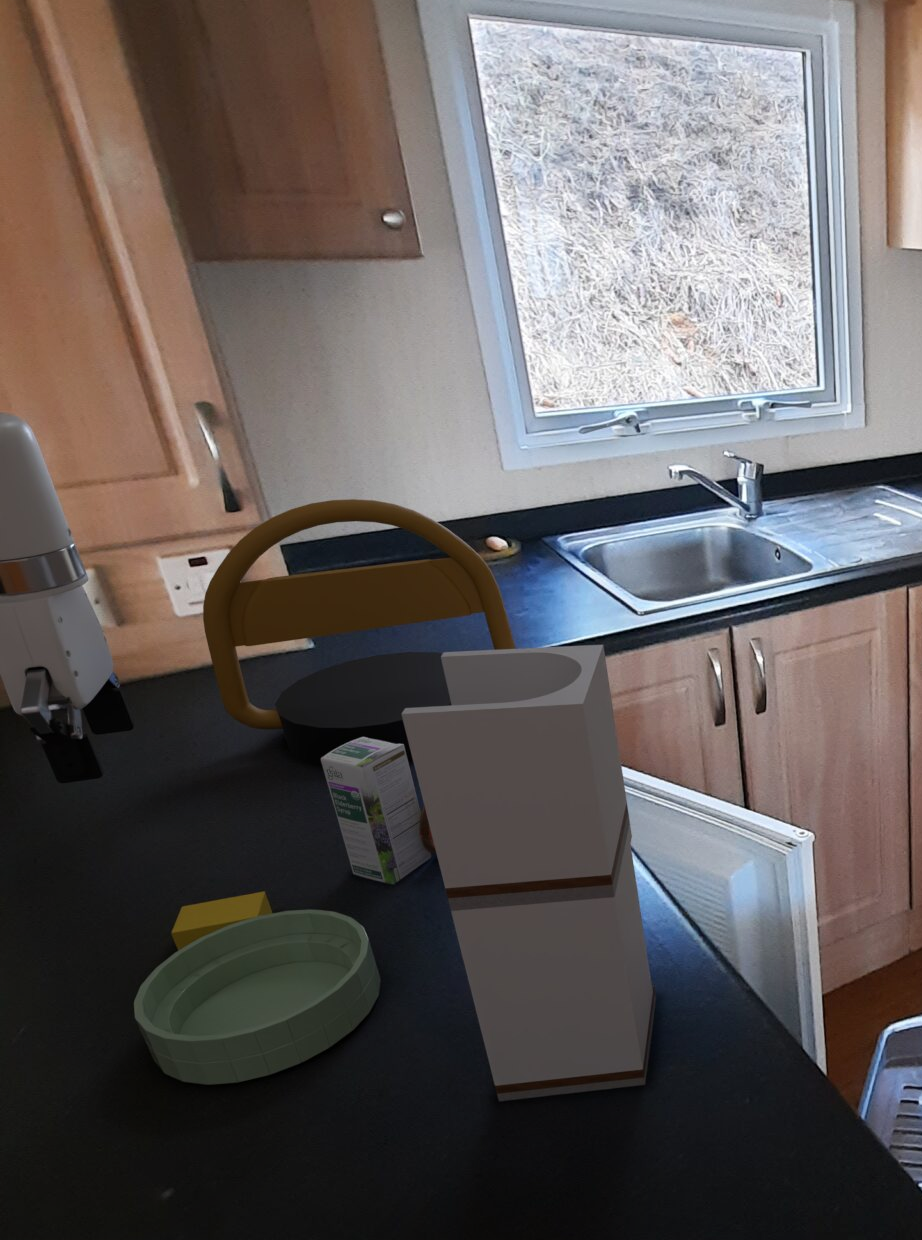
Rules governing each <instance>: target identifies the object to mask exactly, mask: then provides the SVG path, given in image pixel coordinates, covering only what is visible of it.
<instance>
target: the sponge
mask: <svg viewBox="0 0 922 1240" xmlns="http://www.w3.org/2000/svg"><path fill="white" fill-rule="evenodd" d="M267 896H268V895H267V894H266V891H259V892H254V893H249V894H243V895H242V894H241V895H237V896H232V897H225V898H222V899H215V900H210V901H205V902H199V903H195V904H188V905H184V906H181V908H180V910H179V913H178V915H177V918H176V920H175V922H174V925H173V927H172V929H171V933H170V934H171V937H172V939H173V942H174V944H175V946H176V948H177V951H179V950H180V949H182V948H184V947H186V946H187V945H189V944H191V943H192V942H194V941H196V940H198V939H199V938H201V937H203V936H205V935H208V934H210V933H212V932H215V931H217V930H219V929H222V928H224V927H226V926H228V925H231V924H234V923H238V922H241V921H244V920H247V919H251V918H254V917H257V916H262V915H267V914H272V913H273V911H272V908H271V905H270V902H269V899H268V897H267Z"/></svg>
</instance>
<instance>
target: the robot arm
mask: <svg viewBox="0 0 922 1240" xmlns="http://www.w3.org/2000/svg"><path fill="white" fill-rule="evenodd" d="M68 523H69V522H68V520H67V518H66V515H65V512H64V510H63V507H62V505H61V501H60V500H59V496H58V494H57V491H56V488H55V485H54V483H53V480H52V478H51V475H50V473H49V470H48V466H47V464H46V461H45V458H44V456H43V453H42V450H41V448H40V445H39V443H38V440H37V438H36V435H35V433H34V431H33V429H32V428H31V426H30V425H29V424H28V423H27V422H26V420H24V419H23V418H22V417H19V416H17V415H15V414H11V413H6V412H0V677H1V681H2V683H3V686H4V689H5V691H6V694H7V697H8V699H9V702H10V704H11V707H12V708H13V711H14V712H15V713H16V714H17V715H19V716H21V717H23V718H24V720H25V721H26V722H27V723H28V725H29V730H30V732H32V733H33V734H34V736H35V738H36V740H37V743H38V744H39V745H41V747H42V749H43V753H44V754H45V756H46V759H47V761H48V764H49V765H50V769H51V770H52V772H53V775H54V777H55V779H56V781H57V782H58V783H59V784H69V783H77V782H83V781H90V780H97V779H101V778H102V777H103V776H104V774H105V770H104V767H103V765H102V763H101V761H100V757H99V755H98V752H97V750H96V748H95V746H94V743H93V740H92V738H91V735H90V733H84V731H83V720H82V719H83V718H82V711H83V714H84V717H85V719H86V721H87V724H88V726H89V729H90V731H91V733H92V734H93V735H96V736H97V735H107V734H115V733H122V732H130V731H132V730H133V729H134V728H135V721H134V719H133V717H132V714H131V711H130V709H129V708H130V707H129V705H128V703H127V700H126V698H125V695H124V693H123V689H121V688H120V687H121V682H120V679H119V677H118V676H117V674H116V673H115V672H114V668H115V666H114V665H115V664H114V660H113V655H112V653H111V650H110V646H109V644H108V641H107V637H106V636H105V633H104V630H103V627H102V625H101V623H100V620H99V618H98V615H97V614H96V612H95V609H94V607H93V605H92V603H91V601H90V599H89V596H88V594H87V592H86V590H85V588H84V585H85V584H86V583H87V582H89V579H90V578H89V575H88V574H87V573H88V572H87V571H86V568H85V566H84V563H83V560H82V558H81V555H80V552H79V550H78V547H77V545H76V541H75V539H74V536H73V534H72V530H71V528H70V525H69V524H68ZM65 700H68V701H65ZM55 701H64V702H55ZM49 702H55V703H49ZM62 714H66V715H67V722H65V720H62V719H61V718H59V717H53V715H62Z"/></svg>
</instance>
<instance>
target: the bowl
mask: <svg viewBox="0 0 922 1240" xmlns="http://www.w3.org/2000/svg"><path fill="white" fill-rule="evenodd" d="M381 978H382V977H381V975H380V972H379V969H378V966H377V963H376V959H375V956H374V952H373V949H372V945H371V942H370V939H369V937H368V934H367V932H366V929H365V927H364V925H362V924H360V923H359V922H358V921H357V920H356V919H354V918H353V917H351V916H348V915H345V914H343V913H339V912H337V911H331V910H323V909H313V908H312V909H295V910H294V909H293V910H284V911H278V912H272V914H267V915H262V916H257V917H254V918H251V919H247V920H244V921H241V922H238V923H234V924H231V925H228V926H226V927H224V928H222V929H219V930H217V931H215V932H212V933H210V934H208V935H205V936H203V937H201V938H199V939H198V940H196V941H194V942H192V943H191V944H189V945H187V946H186V947H184V948H182V949H180V950H179V951H178V950H177V951H175V952H174V953H173V954H171V955H170V956H169V957H167V959H165V960H164V961H162V963H160V964H159V965H158V966H156V967H155V968H154V969H153V971H151V973H150V974H149V975H148V976H147V977H146V978H145V980H144V981H143V982H142V983H141V984H140V986H139V989H138V991H137V993H136V996H135V998H134V1001H133V1012H134V1013H133V1014H134V1019H135V1022H136V1023H137V1026H138V1029H139V1031H140V1033H141V1036H142V1037H143V1040H144V1042H145V1044H146V1045H147V1048H148V1051H149V1053H150V1056H151V1057H152V1060H153V1062H154V1063H155V1064H156V1065H157V1066H158V1068H159V1069H160V1070H161V1071H162V1073H164V1074H165V1075H167V1076H169V1077H171V1078H174V1079H176V1080H178V1081H180V1082H183V1083H192V1084H199V1085H206V1086H208V1085H210V1086H212V1085H225V1084H236V1083H241V1082H245V1081H246V1082H247V1081H250V1080H255V1079H259V1078H263V1077H268V1076H270V1075H274V1074H276V1073H279V1072H282V1071H284V1070H287V1069H289V1068H292V1067H294V1066H298V1065H299V1064H302V1063H304V1062H306V1061H308V1060H309V1059H312V1058H313V1057H315V1056H317V1055H319V1054H321V1053H323V1052H325V1051H326V1050H328V1049H330V1048H331V1047H333V1046H334V1045H335V1044H337V1043H338V1042H339V1041H341V1040H342V1039H343V1038H345V1037H347V1035H349V1034H351V1033H352V1032H353V1031H354V1030H355V1029H356V1028H357V1027H358V1026H359V1025H360V1024H361V1022H363V1021H364V1020H365V1018H366V1017H367V1016H368V1015H369V1014H370V1012H371V1011H372V1009H373V1007H374V1005H375V1003H376V1002H377V999H378V998H379V995H380V989H381V982H382V981H381V980H382V979H381Z"/></svg>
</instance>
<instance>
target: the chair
mask: <svg viewBox="0 0 922 1240" xmlns="http://www.w3.org/2000/svg"><path fill="white" fill-rule="evenodd" d="M351 522H361V523H377V524H382V525H388V526H394V527H397V528H399V529H402V530H405V531H408V532H410V533H413V534H414V535H416V536H419V537H421V538H423V539H425V540H426V541H428V542H430V543H431V544H433V545H435V547H437V548H438V549H440V550H441V551H442V552H444V553H445V554H446V555H447V556H449V557H444V558H435V559H429V558H426V559H419V560H410V561H401V562H392V563H384V564H376V565H375V564H374V565H367V566H366V565H365V566H357V567H351V568H341V569H332V570H325V571H323V570H322V571H317V572H316V571H315V572H306V573H299V574H289V575H283V576H282V575H280V576H273V577H268V578H264V579H256V580H248V581H242V580H243V579H244V577H245V576H246V575H247V573H248V571H249V570H250V568H251V567H252V566H253V565H254V564H255V563H256V562H257V561H258V559H259V558H260V557H261V556H262V555H264V554H266V552H267V551H268V550H270V549H271V548H272V547H274V546H275V545H277V544H278V543H281V542H282V541H283V540H285V539H286V538H287V539H288V537H292V536H293V535H295V534H298V533H300V532H302V531H305V530H308V529H309V530H310V529H311V528H315V527H318V526H323V525H330V524H336V523H351ZM481 613H483V614H484V618H485V620H486V624H487V628H488V631H489V635H490V639H491V642H492V646H493V650H501V649H517V648H516V644H515V639H514V637H513V632H512V629H511V625H510V621H509V618H508V613H507V611H506V606H505V602H504V600H503V596H502V592H501V589H500V587H499V584H498V581H497V579H496V578H495V576H494V573H493V571H492V570H491V568H490V567H489V565H488V564H487V562H486V561H485V559H484V558H482V557H481V555H480V554H479V553H478V552H477V551H476V550H475V549H473V547H471V546H470V545H469V544H468V543H467V542H466V541H464V540H463V539H462V538H461V537H459V536H458V535H457V534H455V533H454V532H453V531H451V529H448V528H447V527H445V525H442V524H441V523H439V522H437V521H436V520H434V519H433V518H431V517H429V516H427V515H424V514H423V513H420V512H418V511H416V510H414V509H411V508H408V507H405V506H402V505H398V504H396V503H391V502H385V501H379V500H374V499H356V498H355V499H354V498H351V499H350V498H349V499H329V500H324V501H319V502H318V501H317V502H312V503H307V504H304V505H300V506H298V507H294V508H291V509H288V510H286V511H284V512H282V513H280V514H276V515H274V516H273V517H270V518H269V519H267V520H266V521H264V522H262V523H261V524H259V525H257V526H255V527H254V528H253V529H251V530H250V531H249V532H248V533H247V534H246V535H244V536H243V537H242V538H241V539H239V541H238V542H237V543H236V544H235V545H234V546H233V548H231V550H230V551H229V552H228V553H227V554H226V556H225V557H224V559H223V560H222V561H221V563H220V564H219V566H218V567H217V569H216V571H215V572H214V574H213V576H212V577H211V579H210V581H209V583H208V586H207V588H206V590H205V593H204V600H203V605H202V620H203V629H204V634H205V638H206V643H207V647H208V651H209V655H210V660H211V663H212V667H213V671H214V676H215V679H216V683H217V686H218V691H219V694H220V697H221V698H220V699H221V701H222V704H223V707H224V710H225V711H226V714H228V716H230V717H231V718H232V719H234V720H236V722H239V723H241V724H242V725H244V726H247V727H249V728H252V729H257V730H282V732H283V735H284V737H285V741H286V744H287V747H288V749H289V753H290V755H291V756H292V757H294V758H296V759H298V760H299V761H300V762H302V763H304V764H306V765H311V766H316V767H321V768H323V766H322V763H321V758H322V757H323V756H325V755H326V754H328V753H329V752H331V751H332V750H334V749H336V748H338V747H340V746H341V745H344V744H346V743H348V742H350V741H353V740H355V739H358V738H361V737H367V738H371V739H376V740H381V741H386V742H390V743H394V744H404V747H405V751H406V755H407V759H408V762H410V761H413V758H412V754H411V750H410V746H409V742H408V738H407V734H406V730H405V726H404V722H403V718H402V712H403V711H404V709H405V708H417V707H435V706H452V704H451V700H450V695H449V691H448V687H447V682H446V678H445V673H444V669H443V664H442V660H441V656H442V654H443V653H444V652H436V651H405V652H395V653H394V652H393V653H385V654H377V655H372V656H367V657H362V658H357V659H352V660H347V661H345V662H341V663H337V664H335V665H331V666H329V667H325V668H321V669H319V670H317V671H315V672H313V673H310V674H308V675H305V676H304V677H301V678H300V679H298V680H296V681H295V682H294V683H292V684H290V685H289V686H288V687H287V688H286V689H284V690H282V691H281V692H280V694H279V696H278V698H277V699H276V701H275V704H274V705H275V708H276V709H262V708H259V707H257V706H255V705H254V704H252V703H251V702H250V700H249V697H248V692H247V689H246V685H245V681H244V677H243V673H242V669H241V664H240V661H239V657H238V653H237V648H236V647H253V646H254V647H255V646H261V645H268V644H275V643H283V642H288V641H297V640H305V639H312V638H319V637H325V636H332V635H339V634H346V633H347V634H348V633H354V632H362V631H368V630H375V629H383V628H389V627H390V628H391V627H396V626H397V627H398V626H403V625H405V626H406V625H411V624H418V623H425V622H432V621H439V620H448V619H454V618H462V617H468V616H471V615H473V614H481Z"/></svg>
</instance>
